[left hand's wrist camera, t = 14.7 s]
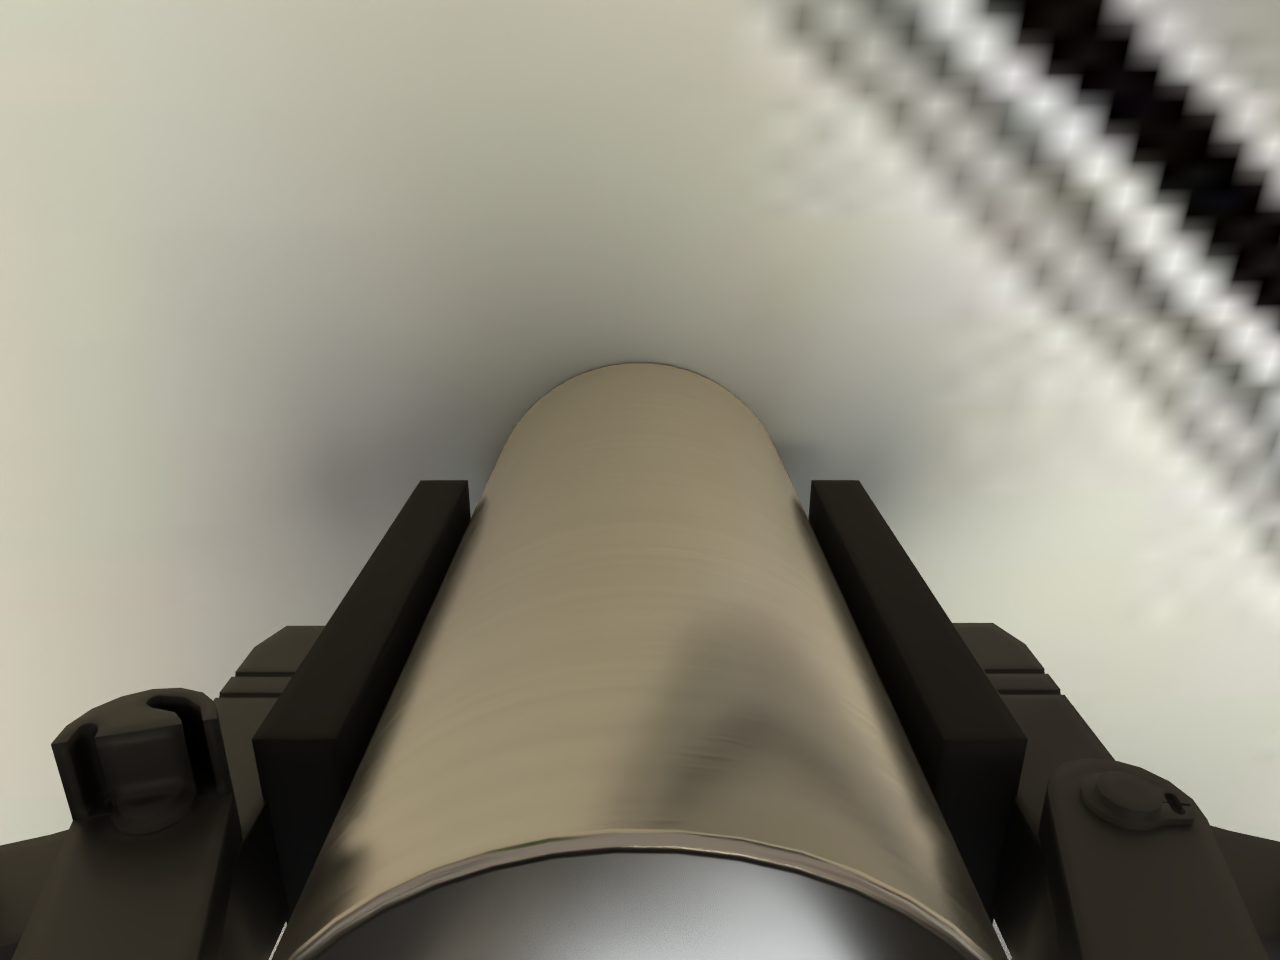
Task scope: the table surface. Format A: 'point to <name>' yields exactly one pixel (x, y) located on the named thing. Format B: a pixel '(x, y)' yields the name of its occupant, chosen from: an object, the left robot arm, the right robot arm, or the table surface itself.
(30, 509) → the table surface
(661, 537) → the tin
